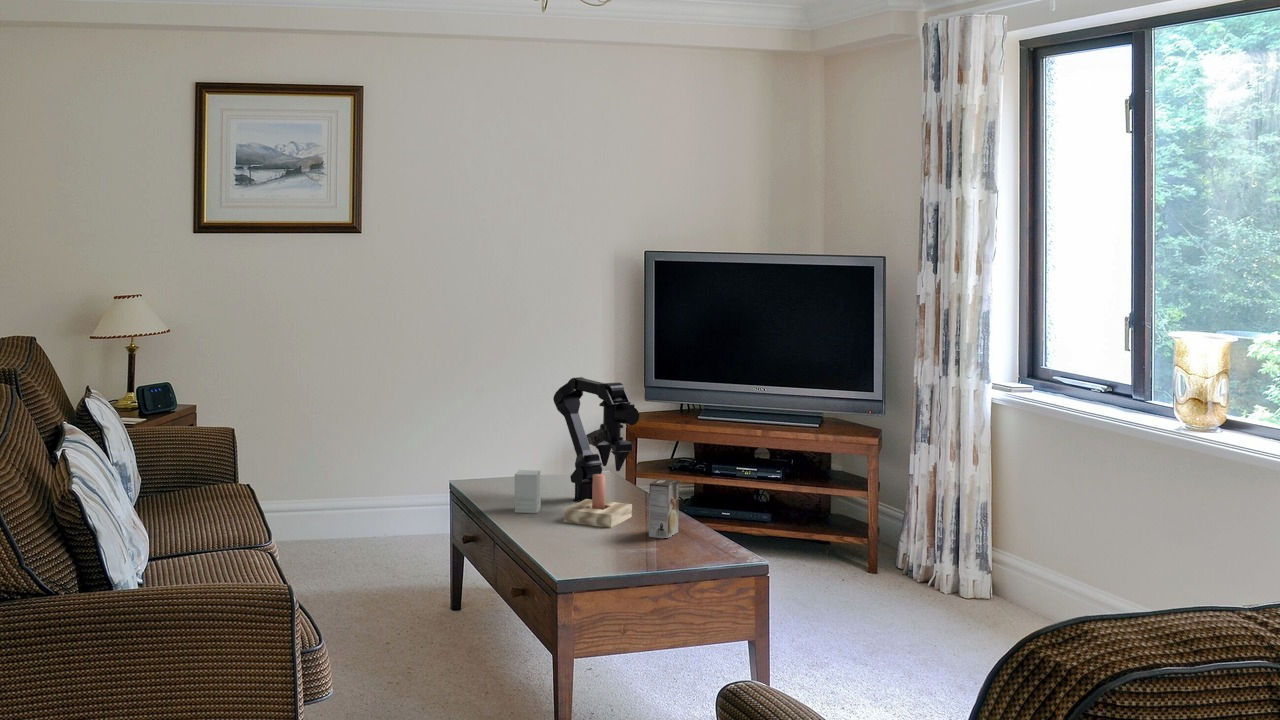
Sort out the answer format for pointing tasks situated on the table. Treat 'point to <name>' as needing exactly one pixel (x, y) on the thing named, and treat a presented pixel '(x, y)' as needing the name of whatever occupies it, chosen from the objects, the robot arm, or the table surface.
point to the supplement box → (527, 491)
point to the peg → (598, 491)
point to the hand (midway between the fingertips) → (611, 468)
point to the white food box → (663, 508)
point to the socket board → (598, 514)
